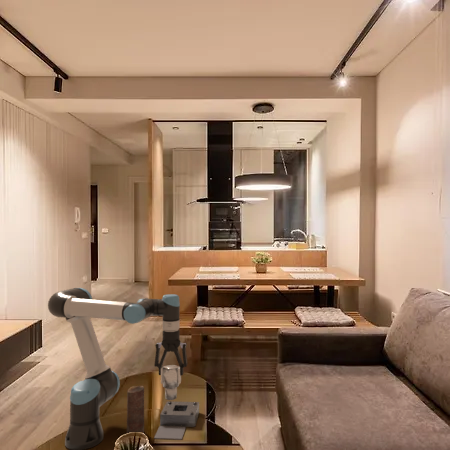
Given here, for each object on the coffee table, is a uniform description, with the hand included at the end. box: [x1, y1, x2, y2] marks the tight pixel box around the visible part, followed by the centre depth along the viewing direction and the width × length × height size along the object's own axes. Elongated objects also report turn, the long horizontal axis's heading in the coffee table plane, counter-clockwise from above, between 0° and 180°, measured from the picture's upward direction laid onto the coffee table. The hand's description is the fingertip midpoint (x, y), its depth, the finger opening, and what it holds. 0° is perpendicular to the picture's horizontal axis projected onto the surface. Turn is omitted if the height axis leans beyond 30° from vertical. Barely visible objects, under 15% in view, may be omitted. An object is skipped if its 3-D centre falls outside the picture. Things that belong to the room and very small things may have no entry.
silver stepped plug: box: [162, 364, 180, 401], centre depth 160 cm, size 7×7×13 cm
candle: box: [126, 385, 145, 434], centre depth 158 cm, size 8×7×20 cm
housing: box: [159, 400, 200, 428], centre depth 172 cm, size 16×14×6 cm
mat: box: [153, 425, 187, 441], centre depth 159 cm, size 12×10×1 cm
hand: (170, 382), depth 160 cm, fingers closed on silver stepped plug, 7 cm apart
